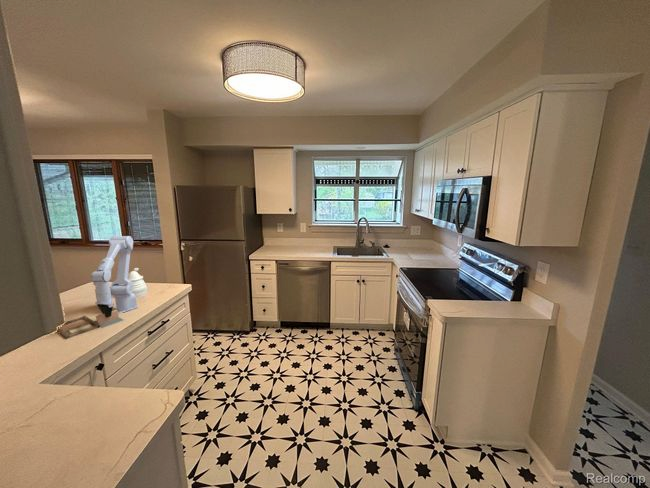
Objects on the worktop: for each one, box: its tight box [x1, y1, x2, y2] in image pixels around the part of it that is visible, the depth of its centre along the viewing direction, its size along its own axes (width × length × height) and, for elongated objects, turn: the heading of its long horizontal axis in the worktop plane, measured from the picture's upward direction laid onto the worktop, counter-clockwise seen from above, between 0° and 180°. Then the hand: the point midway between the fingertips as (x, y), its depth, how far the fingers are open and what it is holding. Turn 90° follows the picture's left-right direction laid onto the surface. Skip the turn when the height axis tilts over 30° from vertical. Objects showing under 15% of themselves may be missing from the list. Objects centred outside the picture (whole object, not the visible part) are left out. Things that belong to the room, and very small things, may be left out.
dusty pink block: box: [95, 309, 120, 325], centre depth 143 cm, size 9×2×4 cm, turn 150°
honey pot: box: [124, 267, 148, 299], centre depth 177 cm, size 13×13×18 cm
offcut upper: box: [68, 324, 94, 335], centre depth 133 cm, size 8×4×1 cm, turn 150°
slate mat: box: [93, 317, 124, 329], centre depth 143 cm, size 10×12×1 cm
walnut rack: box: [56, 315, 101, 340], centre depth 136 cm, size 13×19×2 cm
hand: (107, 316), depth 142 cm, fingers closed on dusty pink block, 2 cm apart
